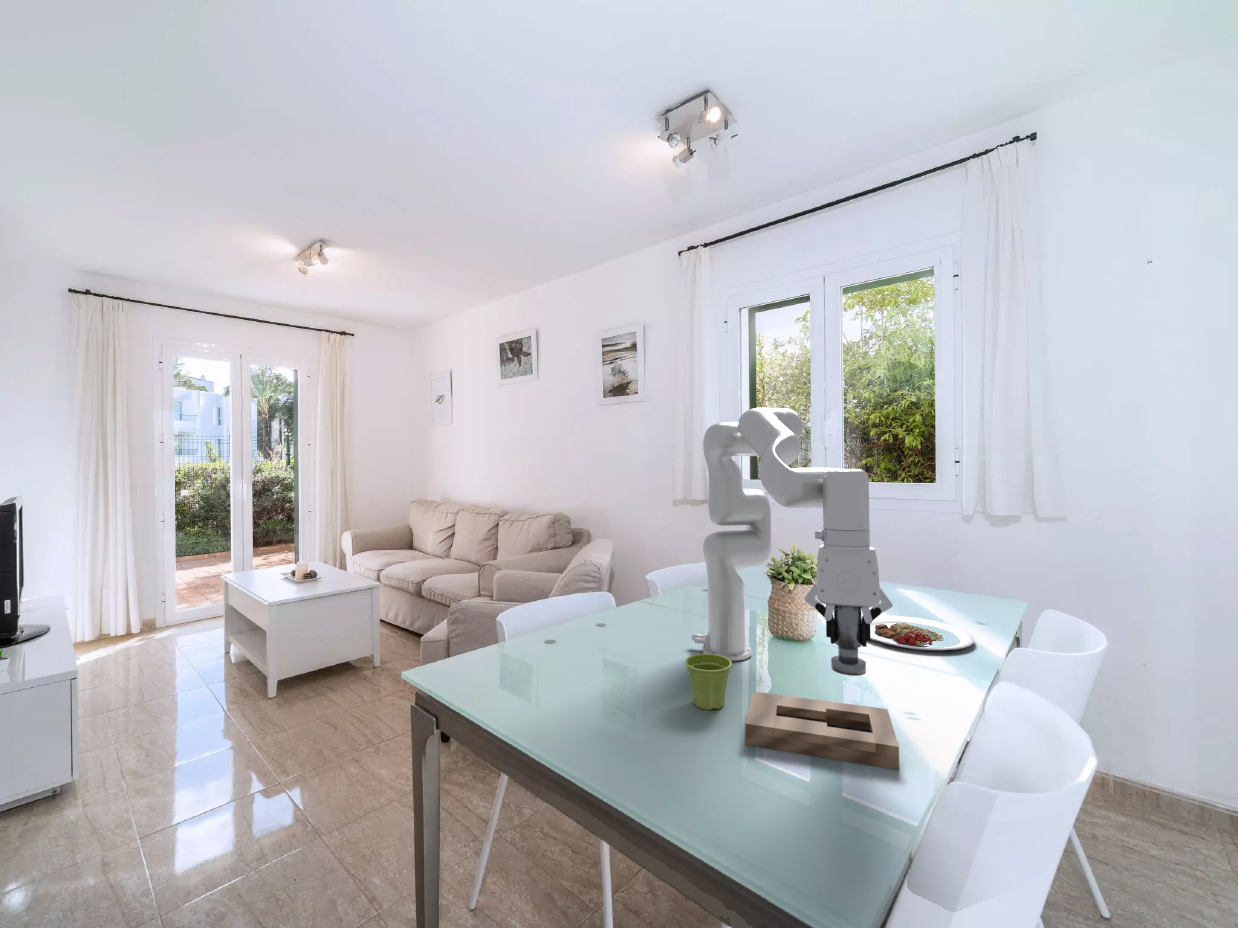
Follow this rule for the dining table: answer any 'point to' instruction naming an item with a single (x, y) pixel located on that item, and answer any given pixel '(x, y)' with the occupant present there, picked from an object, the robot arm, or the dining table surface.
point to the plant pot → (708, 679)
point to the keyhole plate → (822, 729)
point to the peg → (848, 641)
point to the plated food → (915, 633)
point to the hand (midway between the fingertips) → (848, 641)
